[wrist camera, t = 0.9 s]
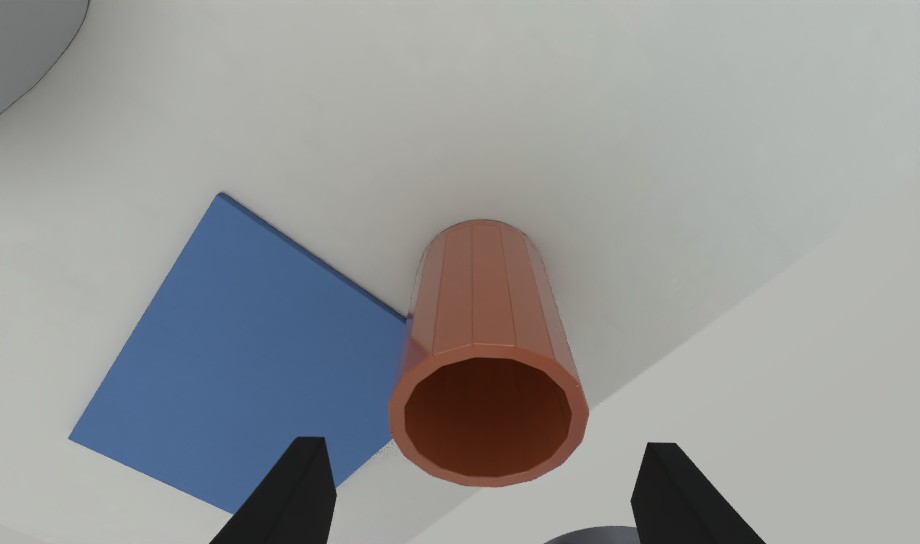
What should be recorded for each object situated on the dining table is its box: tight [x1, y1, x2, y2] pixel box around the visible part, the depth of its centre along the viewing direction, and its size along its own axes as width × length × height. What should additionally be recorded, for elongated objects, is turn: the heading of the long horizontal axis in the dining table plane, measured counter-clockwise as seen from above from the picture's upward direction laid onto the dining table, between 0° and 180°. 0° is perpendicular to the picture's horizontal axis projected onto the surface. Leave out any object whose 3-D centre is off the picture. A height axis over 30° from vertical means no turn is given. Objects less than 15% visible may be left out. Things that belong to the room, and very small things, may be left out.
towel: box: [68, 192, 407, 515], centre depth 22 cm, size 18×13×1 cm
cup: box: [388, 220, 589, 487], centre depth 15 cm, size 5×5×8 cm
